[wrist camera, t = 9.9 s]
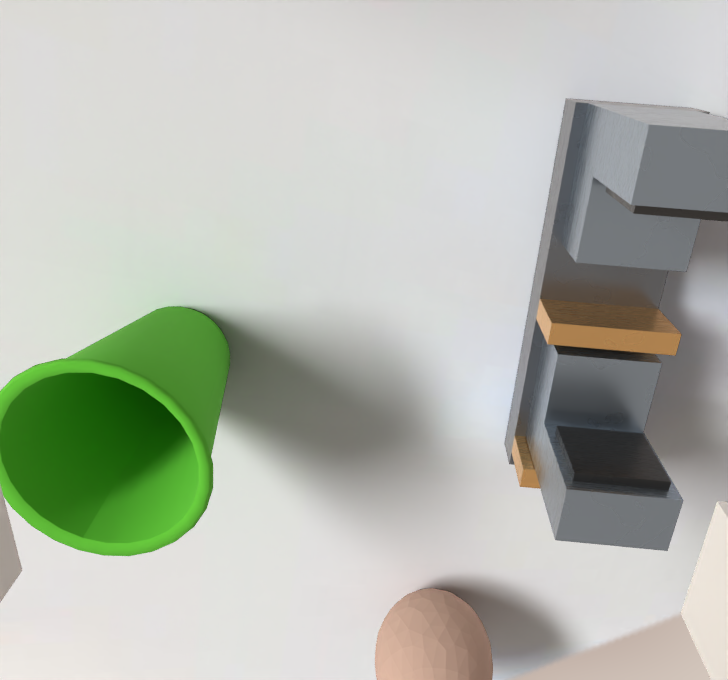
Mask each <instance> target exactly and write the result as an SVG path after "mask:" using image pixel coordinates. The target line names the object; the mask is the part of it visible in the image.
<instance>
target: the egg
mask: <svg viewBox="0 0 728 680" xmlns="http://www.w3.org/2000/svg"><path fill="white" fill-rule="evenodd" d="M375 668H376V677H377V680H492V674H493V663H492V654H491V645H490V641H489V639H488V636H487V633H486V631H485V628H484V626H483V624H482V622H481V620H480V619H479V617H478V616H477V614H476V613H475V611H474V610H473V609H472V608H471V607H470V606H469V605H468V604H467V603H466V602H465V601H463V600H462V599H460V598H459V597H457V596H456V595H454V594H453V593H451V592H448V591H444V590H439V589H434V588H429V589H420V590H418V591H415V592H412V593H410V594H408V595H406V596H405V597H404V598H402V599H401V600H400V601H398V602H397V603H396V604H395V605H394V606H393V607H392V608H391V610H390V611H389V613H388V614H387V616H386V617H385V619H384V621H383V623H382V626H381V628H380V630H379V632H378V638H377V643H376V652H375Z"/></svg>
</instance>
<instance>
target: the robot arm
mask: <svg viewBox="0 0 728 680" xmlns="http://www.w3.org/2000/svg"><path fill="white" fill-rule="evenodd" d="M21 571H22V567H21V563H20V559H19V556H18V552H17V548H16V544H15V540H14V536H13V532H12V528H11V524H10V520H9V516H8V512H7V508H6V505H5V501H4V497H3V493H2V489H1V485H0V602H1V601H2V599H3V598H4V596H5V595H6V593H7V592H8V590H9V589H10V587H11V586H12V585H13V583H14V582H15V580H16V579H17V577H18V576H19V574H20V573H21ZM681 615H682V617H683V619H684V621H685V624H686V626H687V628H688V631H689V633H690V635H691V637H692V639H693V642H694V644H695V646H696V648H697V650H698V652H699V655H700V657H701V659H702V661H703V663H704V666H705V668H706V670H707V672H708V674H709V677H710V679H711V680H728V502H722V501H717V503H716V506H715V510H714V513H713V516H712V519H711V522H710V525H709V528H708V531H707V534H706V537H705V540H704V543H703V546H702V549H701V552H700V556H699V559H698V562H697V565H696V568H695V571H694V574H693V577H692V580H691V583H690V586H689V589H688V592H687V595H686V598H685V602H684V605H683V608H682V611H681Z"/></svg>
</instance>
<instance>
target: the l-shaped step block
mask: <svg viewBox="0 0 728 680" xmlns="http://www.w3.org/2000/svg"><path fill="white" fill-rule="evenodd" d="M661 366H662V363H661V361H660V360H659V359H658V358H657V356H656V355H655V354H653V353H641V352H630V351H619V350H607V349H596V348H584V347H573V346H561V345H550V344H547V342H546V340H545V337H544V339H543V345H542V350H541V355H540V361H539V366H538V371H537V376H536V382H535V387H534V392H533V397H532V403H531V408H530V413H529V418H528V424H527V429H526V434H525V436H526V440H527V443H528V447H529V450H530V454H531V457H532V461H533V464H534V468H535V471H536V475H537V478H538V482H539V485H540V489H541V492H542V496H543V499H544V503H545V506H546V510H547V513H548V516H549V520H550V523H551V527H552V530H553V534H554V537H555V540H560V541H570V542H580V543H591V544H601V545H612V546H622V547H633V548H643V549H653V550H664V551H668V548H669V544H670V541H671V538H672V535H673V532H674V528H675V525H676V522H677V519H678V516H679V513H680V509H681V506H682V503H683V499H682V497H681V495H680V494H679V492H678V490H677V489H676V487H675V485H674V484H673V482H672V480H671V478H670V477H669V475H668V473H667V472H666V470H665V468H664V467H663V465H662V463H661V462H660V460H659V458H658V456H657V455H656V453H655V451H654V450H653V448H652V446H651V445H650V443H649V441H648V439H647V438H646V436H645V434H644V433H643V432H644V428H645V425H646V421H647V417H648V413H649V410H650V406H651V402H652V399H653V395H654V391H655V388H656V384H657V380H658V377H659V373H660V369H661Z"/></svg>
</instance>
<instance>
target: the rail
mask: <svg viewBox="0 0 728 680" xmlns="http://www.w3.org/2000/svg"><path fill="white" fill-rule="evenodd" d="M709 113H710V112H706V111H702V110H698V109H694V108H686V107H673V106H659V105H646V104H633V103H620V102H606V101H593V100H580V99H567V98H566V101H565V107H564V112H563V118H562V124H561V129H560V135H559V140H558V146H557V152H556V157H555V163H554V169H553V174H552V180H551V185H550V191H549V197H548V202H547V208H546V214H545V219H544V225H543V230H542V236H541V242H540V247H539V253H538V259H537V264H536V270H535V275H534V281H533V287H532V292H531V298H530V303H529V309H528V315H527V320H526V326H525V332H524V337H523V343H522V348H521V354H520V360H519V365H518V371H517V377H516V382H515V388H514V393H513V399H512V405H511V410H510V416H509V422H508V427H507V433H506V438H505V447H506V452H507V456H508V460H509V464H514V465H515V468H516V472H517V476H518V481H519V485H520V487H530V488H540V485H539V482H538V478H537V475H536V471H535V468H534V464H533V461H532V457H531V454H530V450H529V447H528V443H527V440H526V436H525V434H526V429H527V424H528V418H529V413H530V408H531V403H532V397H533V392H534V387H535V382H536V376H537V371H538V366H539V361H540V355H541V350H542V345H543V339H544V337H545V340H546V342H547V344H550V345H561V346H573V347H584V348H596V349H607V350H619V351H630V352H641V353H653V354H664V355H676V352H677V349H678V345H679V342H680V338H681V333H680V332H679V331H678V330H677V329H676V328H675V327H674V326H673V324H672V323H671V322H670V321H669V320H668V319H667V318H666V317H665V316H664V315H663V314H662V313H661V311H660V310H659V309H658V308H659V304H660V300H661V296H662V292H663V289H664V285H665V281H666V277H667V273H668V270H671V271H683V272H687V268H688V264H689V261H690V257H691V253H692V250H693V246H694V242H695V239H696V235H697V231H698V228H699V224H700V220H701V219H705V220H717V221H728V119H727V118H723V117H719V116H714V115H710V114H709Z"/></svg>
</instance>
